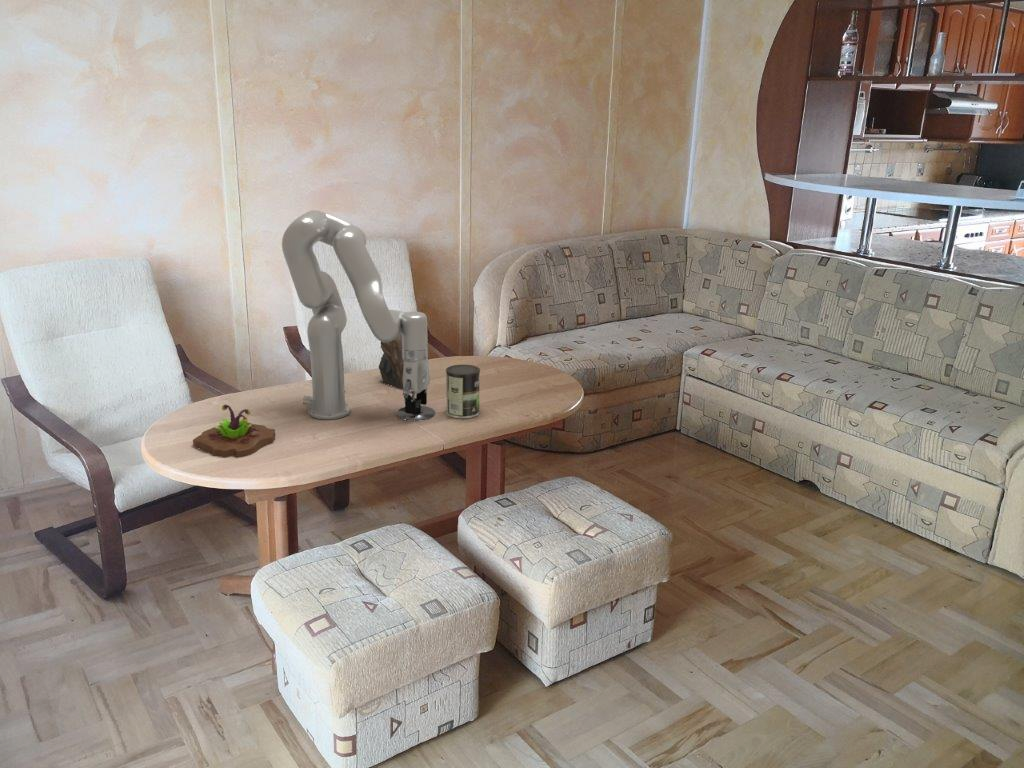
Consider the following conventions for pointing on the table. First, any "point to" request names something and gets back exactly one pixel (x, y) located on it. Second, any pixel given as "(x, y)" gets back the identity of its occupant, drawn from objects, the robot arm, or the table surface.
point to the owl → (392, 362)
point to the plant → (235, 437)
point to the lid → (417, 412)
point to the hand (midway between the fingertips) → (416, 408)
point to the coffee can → (462, 391)
